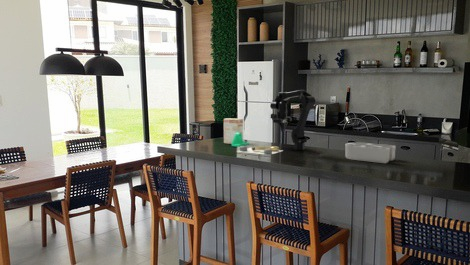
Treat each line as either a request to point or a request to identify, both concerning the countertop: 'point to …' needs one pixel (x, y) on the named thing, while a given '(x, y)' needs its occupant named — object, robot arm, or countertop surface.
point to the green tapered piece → (238, 140)
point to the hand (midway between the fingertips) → (282, 131)
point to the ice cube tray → (370, 152)
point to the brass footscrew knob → (274, 148)
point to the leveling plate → (257, 151)
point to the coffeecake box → (232, 129)
